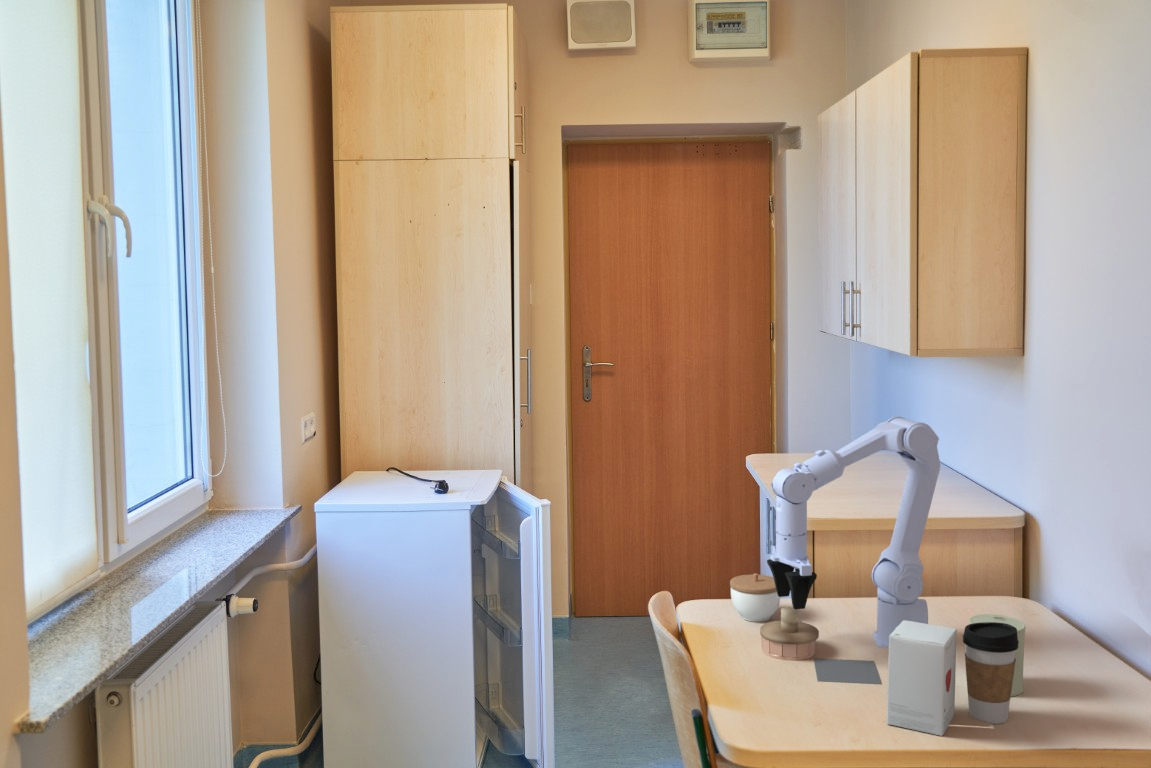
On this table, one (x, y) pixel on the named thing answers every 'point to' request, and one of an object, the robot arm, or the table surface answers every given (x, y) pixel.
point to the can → (1019, 653)
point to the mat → (846, 671)
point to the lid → (789, 629)
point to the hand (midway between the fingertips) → (791, 602)
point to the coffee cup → (990, 669)
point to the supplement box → (921, 677)
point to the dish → (788, 650)
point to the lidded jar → (754, 597)
